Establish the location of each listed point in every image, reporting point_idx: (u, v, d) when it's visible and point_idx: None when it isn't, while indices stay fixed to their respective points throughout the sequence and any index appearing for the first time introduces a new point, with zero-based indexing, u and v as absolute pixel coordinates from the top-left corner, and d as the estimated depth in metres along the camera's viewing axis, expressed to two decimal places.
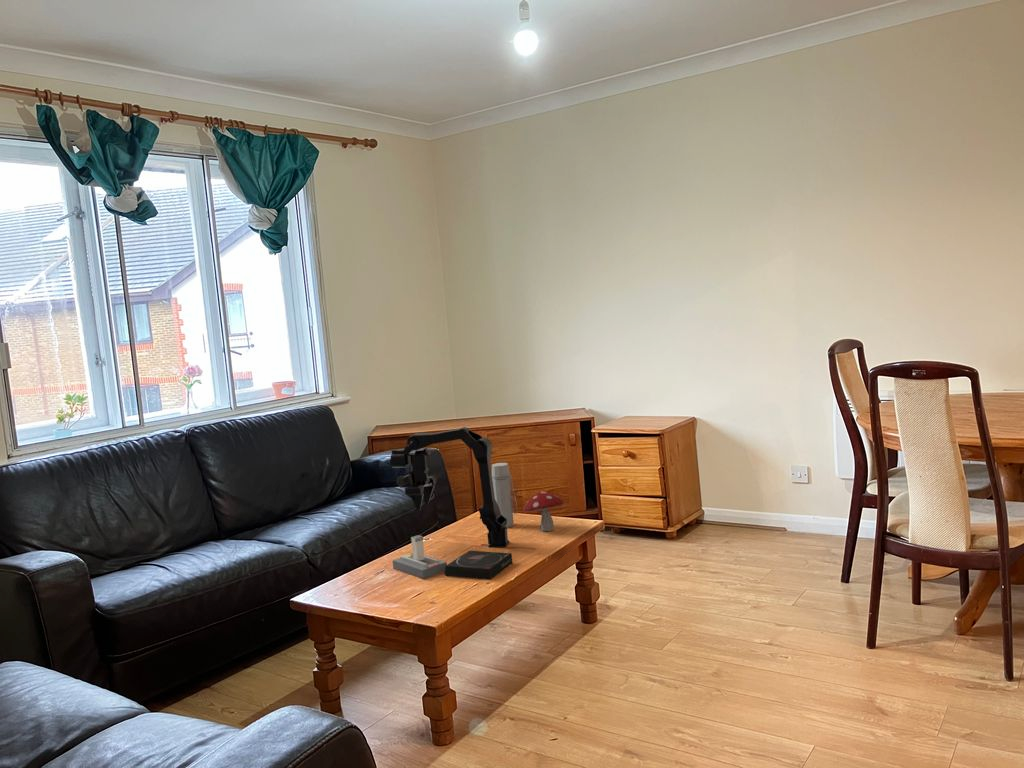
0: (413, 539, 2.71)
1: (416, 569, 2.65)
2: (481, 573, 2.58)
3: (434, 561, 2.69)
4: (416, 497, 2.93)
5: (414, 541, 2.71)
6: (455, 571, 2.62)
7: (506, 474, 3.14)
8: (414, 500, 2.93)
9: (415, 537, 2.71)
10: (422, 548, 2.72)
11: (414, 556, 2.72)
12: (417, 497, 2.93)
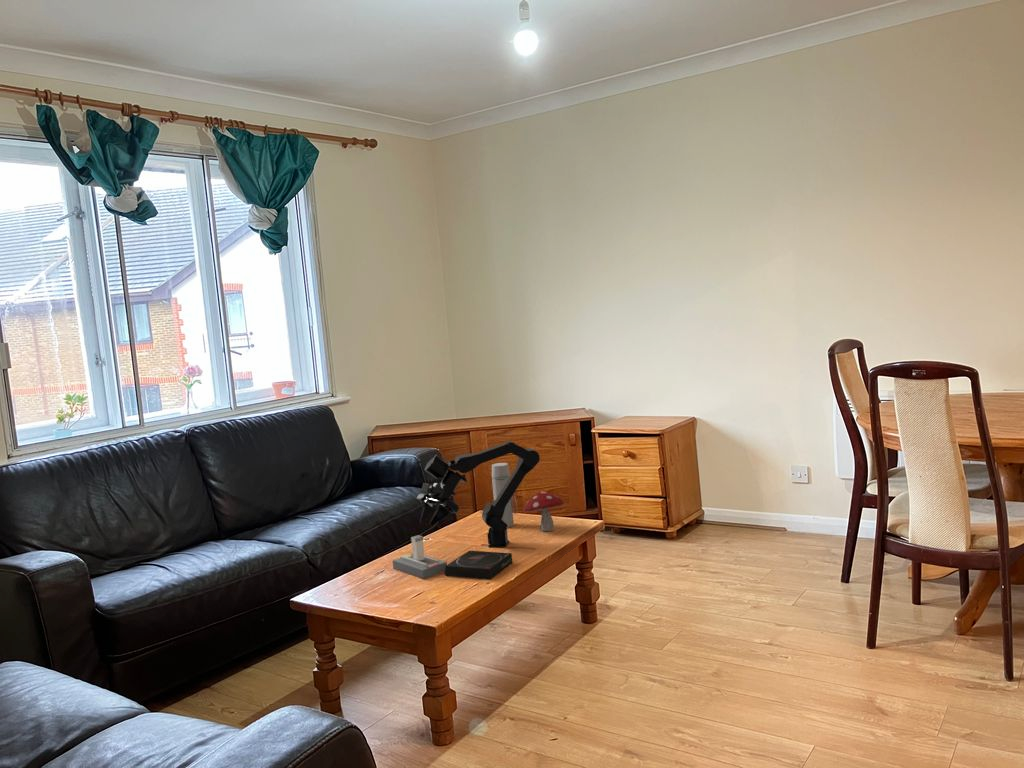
0: (413, 539, 2.71)
1: (416, 569, 2.65)
2: (481, 573, 2.58)
3: (434, 561, 2.69)
4: (440, 512, 2.80)
5: (414, 541, 2.71)
6: (455, 571, 2.62)
7: (506, 474, 3.14)
8: (437, 513, 2.79)
9: (415, 537, 2.71)
10: (422, 548, 2.72)
11: (414, 556, 2.72)
12: (441, 512, 2.80)
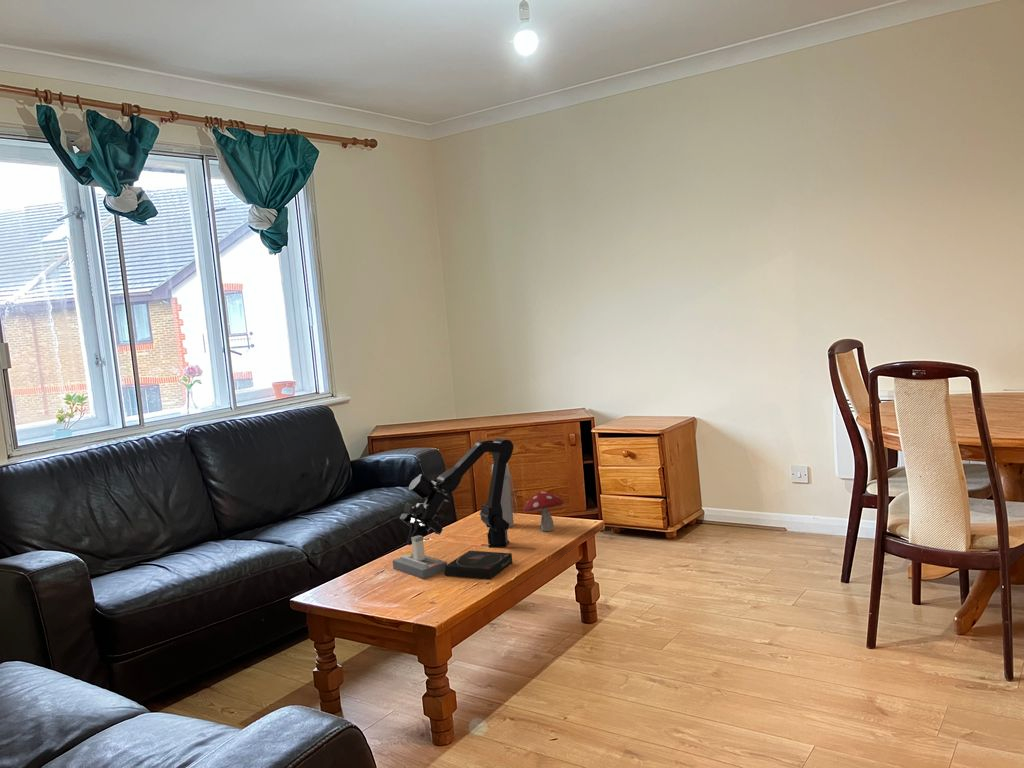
0: (413, 539, 2.71)
1: (416, 569, 2.65)
2: (481, 573, 2.58)
3: (434, 561, 2.69)
4: (418, 531, 2.75)
5: (415, 541, 2.70)
6: (455, 571, 2.62)
7: (506, 474, 3.14)
8: (416, 533, 2.74)
9: (415, 537, 2.71)
10: (422, 548, 2.72)
11: (414, 556, 2.72)
12: (419, 532, 2.76)
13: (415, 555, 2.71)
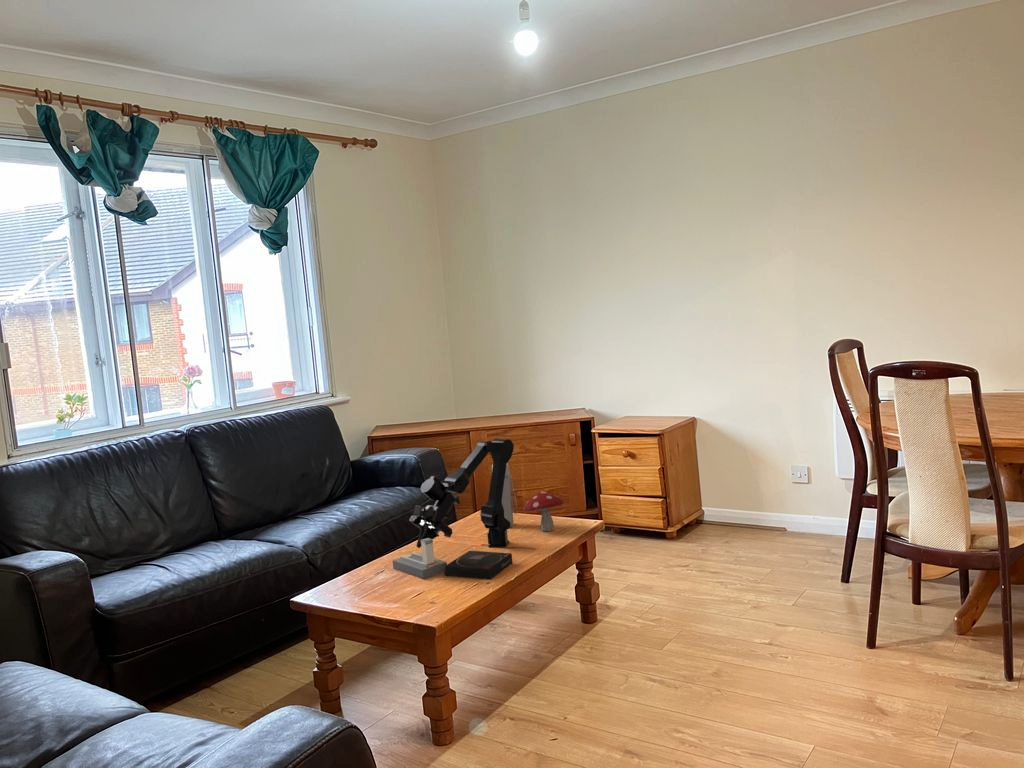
0: (423, 542, 2.67)
1: (416, 569, 2.65)
2: (481, 573, 2.58)
3: (434, 561, 2.69)
4: (428, 534, 2.71)
5: (424, 543, 2.66)
6: (455, 571, 2.62)
7: (506, 474, 3.14)
8: (425, 535, 2.70)
9: (425, 540, 2.67)
10: (432, 551, 2.68)
11: (424, 559, 2.68)
12: (429, 534, 2.71)
13: (424, 558, 2.67)
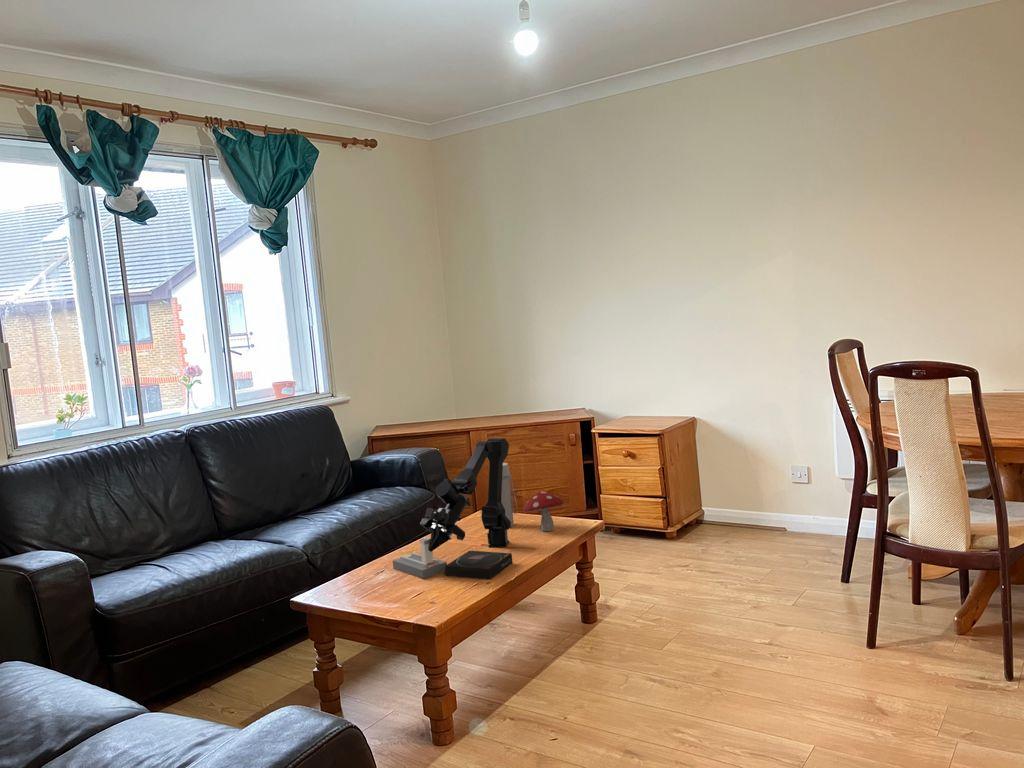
0: (422, 541, 2.67)
1: (416, 569, 2.65)
2: (481, 573, 2.58)
3: (434, 561, 2.69)
4: (440, 537, 2.66)
5: (423, 543, 2.67)
6: (455, 571, 2.62)
7: (506, 474, 3.14)
8: (437, 539, 2.65)
9: (424, 539, 2.68)
10: None
11: (423, 559, 2.68)
12: (441, 538, 2.66)
13: (423, 558, 2.68)
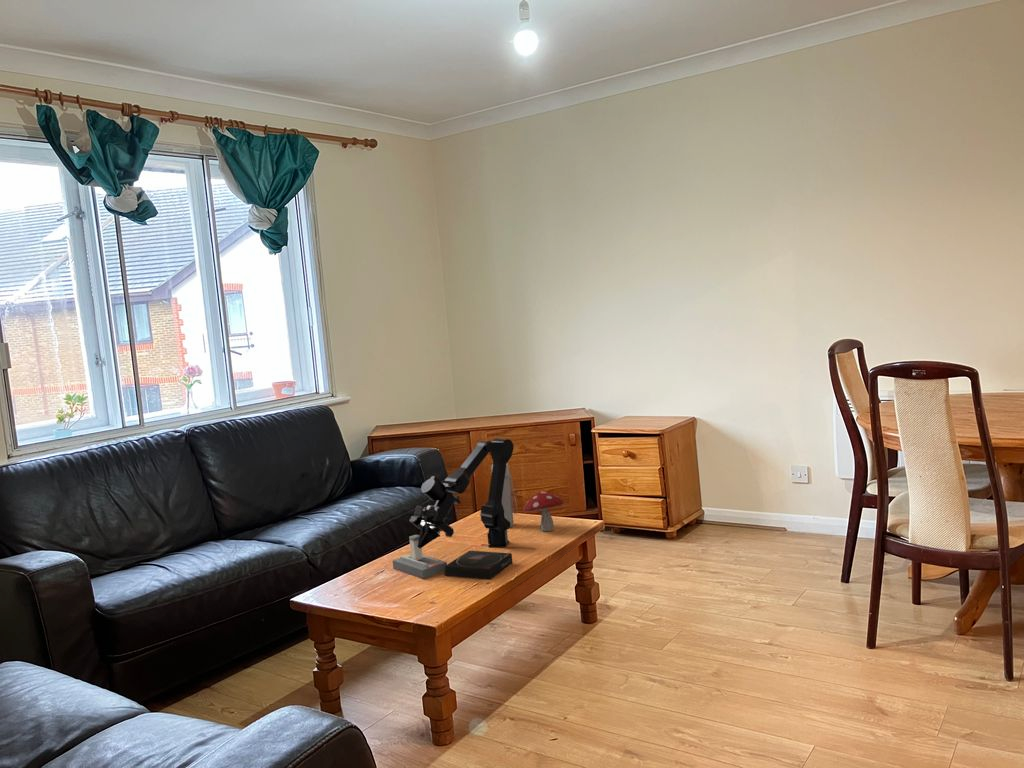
0: (411, 538, 2.72)
1: (416, 569, 2.65)
2: (481, 573, 2.58)
3: (434, 561, 2.69)
4: (429, 534, 2.71)
5: (412, 540, 2.71)
6: (455, 571, 2.62)
7: (506, 474, 3.14)
8: (426, 536, 2.70)
9: (413, 536, 2.72)
10: None
11: (412, 555, 2.73)
12: (430, 535, 2.71)
13: (413, 554, 2.72)
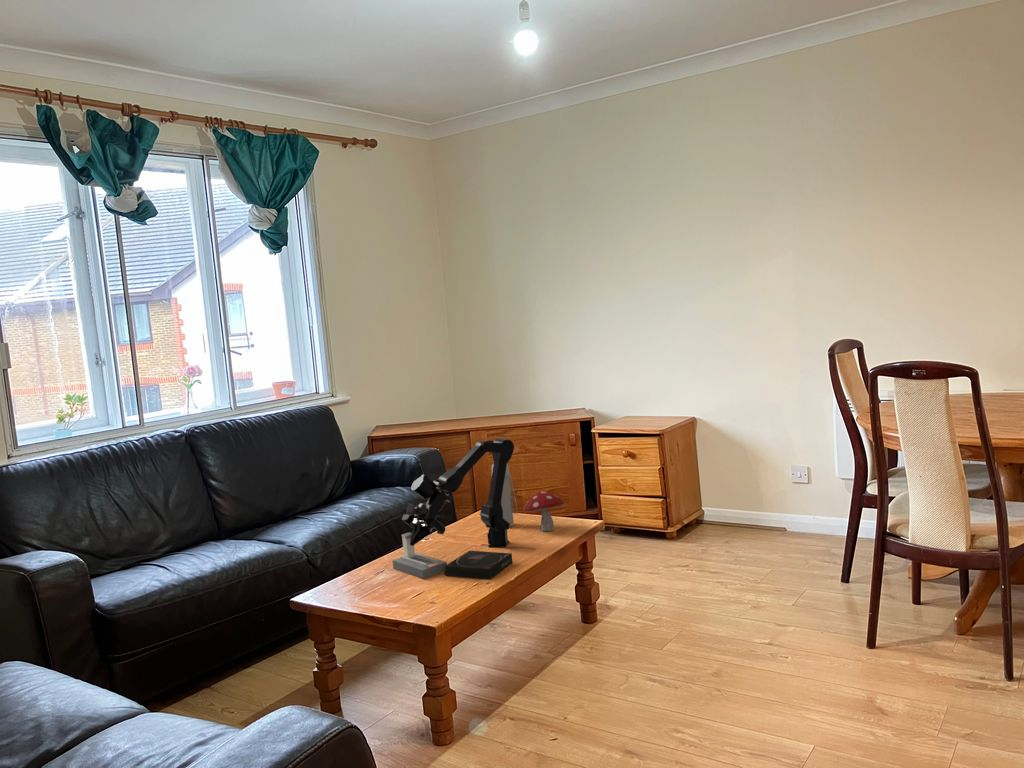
0: (404, 536, 2.75)
1: (416, 569, 2.65)
2: (481, 573, 2.58)
3: (434, 561, 2.69)
4: (421, 532, 2.74)
5: (405, 538, 2.75)
6: (455, 571, 2.62)
7: (506, 474, 3.14)
8: (418, 533, 2.73)
9: (406, 534, 2.76)
10: None
11: (405, 553, 2.76)
12: (422, 532, 2.74)
13: (405, 552, 2.76)
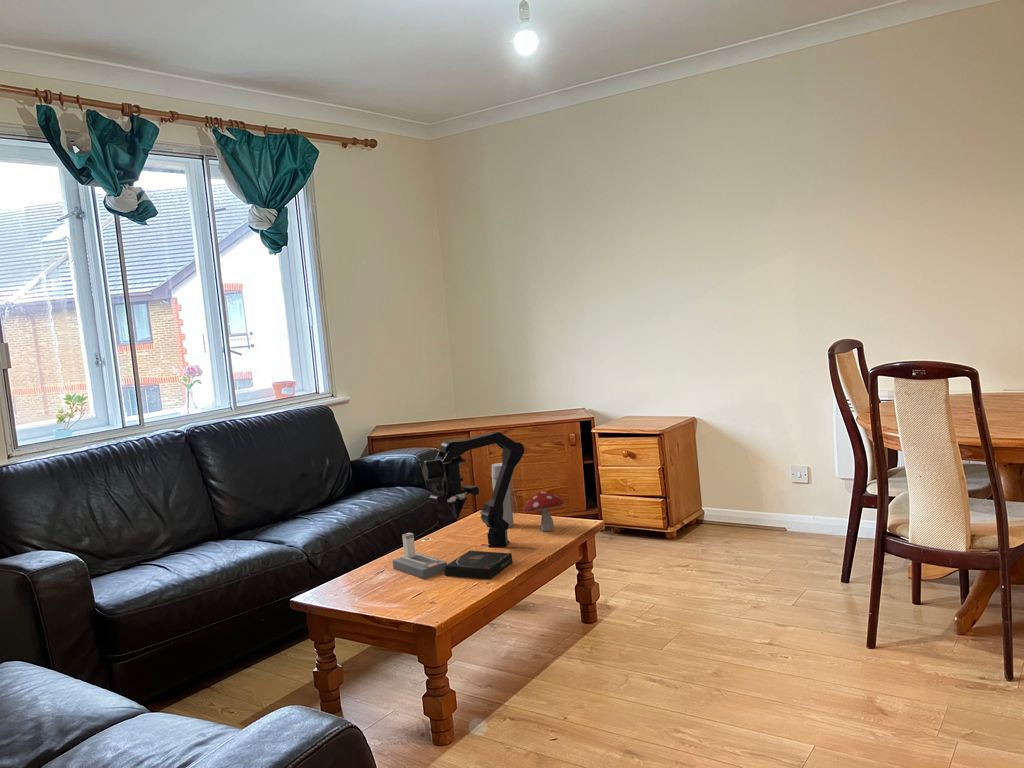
0: (404, 536, 2.75)
1: (416, 569, 2.65)
2: (481, 573, 2.58)
3: (434, 561, 2.69)
4: (452, 504, 2.85)
5: (405, 538, 2.75)
6: (455, 571, 2.62)
7: None
8: (450, 507, 2.85)
9: (406, 534, 2.76)
10: (413, 545, 2.76)
11: (405, 553, 2.76)
12: (453, 504, 2.84)
13: (406, 552, 2.76)
